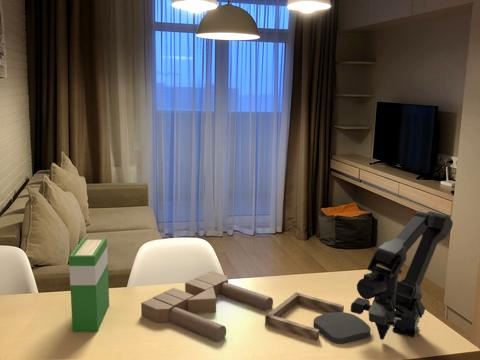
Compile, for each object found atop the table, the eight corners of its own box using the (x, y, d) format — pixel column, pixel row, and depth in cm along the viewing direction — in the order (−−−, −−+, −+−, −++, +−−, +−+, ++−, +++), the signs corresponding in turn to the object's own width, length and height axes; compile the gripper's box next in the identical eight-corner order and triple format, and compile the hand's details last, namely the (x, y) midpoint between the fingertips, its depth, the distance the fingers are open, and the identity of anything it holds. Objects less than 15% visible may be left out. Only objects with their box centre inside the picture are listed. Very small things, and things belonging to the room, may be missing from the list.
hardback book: (86, 305, 167) (83, 237, 163) (109, 305, 168) (106, 237, 163) (72, 332, 150) (68, 256, 145) (97, 331, 151) (94, 256, 146)
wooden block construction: (141, 317, 161) (210, 348, 144) (140, 301, 160) (210, 331, 143) (211, 283, 188) (277, 306, 171) (211, 270, 187) (277, 291, 170)
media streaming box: (335, 347, 145) (335, 338, 145) (308, 324, 158) (308, 316, 158) (375, 337, 151) (376, 328, 150) (346, 316, 164) (347, 308, 164)
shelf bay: (343, 313, 165) (343, 305, 165) (316, 341, 148) (317, 331, 147) (295, 300, 174) (295, 292, 174) (265, 324, 157) (265, 315, 156)
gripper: (345, 291, 143) (342, 341, 146) (412, 308, 133) (407, 361, 136) (358, 278, 152) (355, 326, 155) (422, 294, 142) (417, 344, 145)
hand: (382, 339), depth 148 cm, fingers closed
